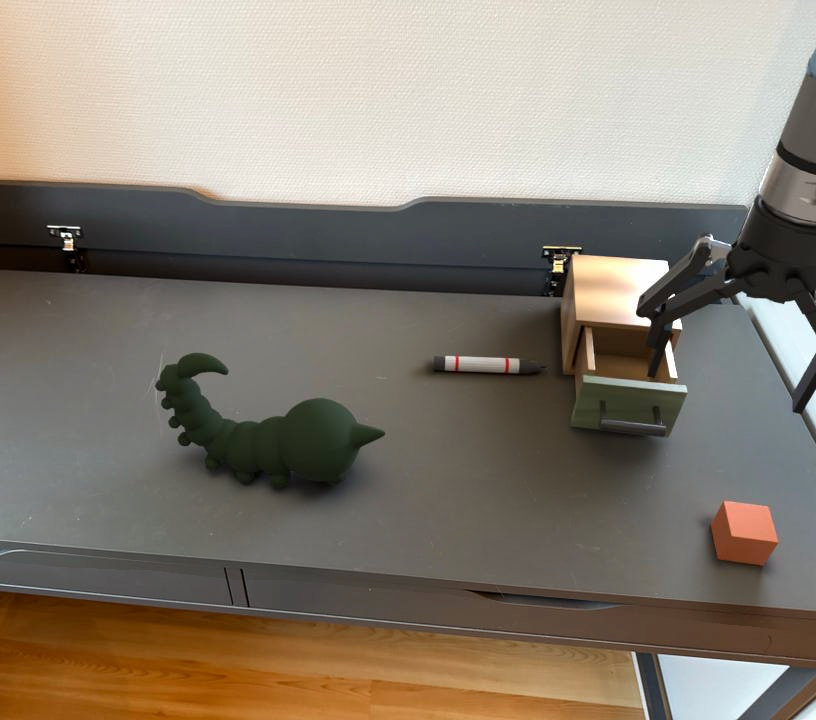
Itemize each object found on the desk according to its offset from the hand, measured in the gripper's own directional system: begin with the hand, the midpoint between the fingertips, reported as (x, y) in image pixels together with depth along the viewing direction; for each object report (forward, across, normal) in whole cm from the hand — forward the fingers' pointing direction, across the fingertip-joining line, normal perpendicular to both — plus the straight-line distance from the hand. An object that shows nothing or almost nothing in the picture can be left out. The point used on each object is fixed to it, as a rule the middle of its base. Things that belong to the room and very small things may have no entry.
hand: (722, 386), depth 72 cm
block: (+15, +6, -8) cm, 18 cm away
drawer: (+14, -9, +7) cm, 18 cm away
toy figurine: (+15, -44, -17) cm, 50 cm away
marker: (+15, -25, +9) cm, 31 cm away
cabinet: (+15, -11, +20) cm, 27 cm away
